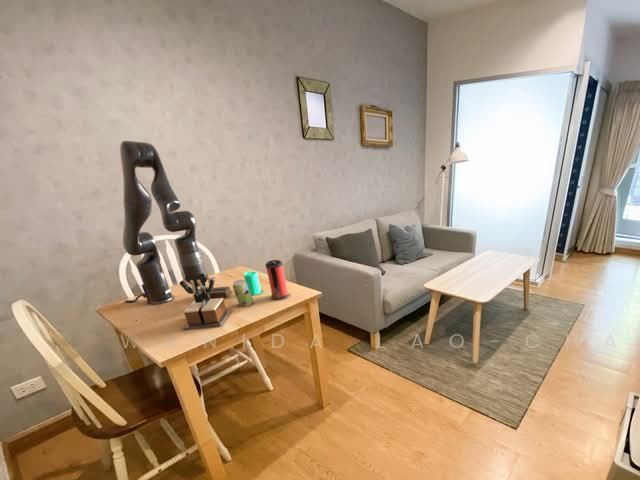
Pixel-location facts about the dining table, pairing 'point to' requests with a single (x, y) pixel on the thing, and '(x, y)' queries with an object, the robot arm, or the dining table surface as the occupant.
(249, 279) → the candle
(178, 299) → the dining table surface
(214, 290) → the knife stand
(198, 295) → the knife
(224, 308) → the split wooden block
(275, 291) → the speaker
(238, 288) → the beverage can
